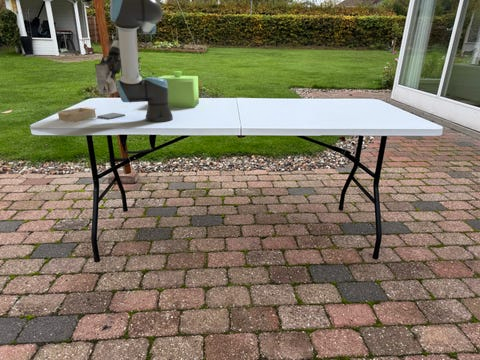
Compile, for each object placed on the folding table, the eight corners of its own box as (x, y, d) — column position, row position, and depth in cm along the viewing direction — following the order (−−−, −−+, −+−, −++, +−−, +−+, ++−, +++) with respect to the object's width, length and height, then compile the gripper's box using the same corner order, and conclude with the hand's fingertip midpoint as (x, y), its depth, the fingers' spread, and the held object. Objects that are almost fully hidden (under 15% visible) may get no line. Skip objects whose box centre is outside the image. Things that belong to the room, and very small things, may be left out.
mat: (125, 116, 207) (125, 114, 207) (109, 119, 197) (109, 117, 197) (113, 114, 212) (113, 112, 211) (97, 117, 202) (97, 115, 201)
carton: (99, 116, 205) (98, 108, 203) (69, 122, 188) (68, 114, 187) (85, 114, 211) (83, 106, 209) (54, 120, 194) (53, 112, 192)
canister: (158, 107, 236) (155, 72, 228) (165, 102, 256) (163, 69, 248) (194, 108, 236) (193, 72, 227) (198, 103, 256) (197, 70, 247)
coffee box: (107, 91, 204) (104, 63, 198) (117, 92, 203) (114, 63, 197) (98, 93, 196) (94, 64, 190) (108, 94, 194) (105, 64, 189)
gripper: (134, 55, 203) (120, 87, 194) (106, 55, 208) (92, 85, 200) (128, 46, 196) (113, 78, 188) (99, 45, 202) (84, 76, 193)
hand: (102, 82), depth 194 cm, fingers closed on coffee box, 7 cm apart
